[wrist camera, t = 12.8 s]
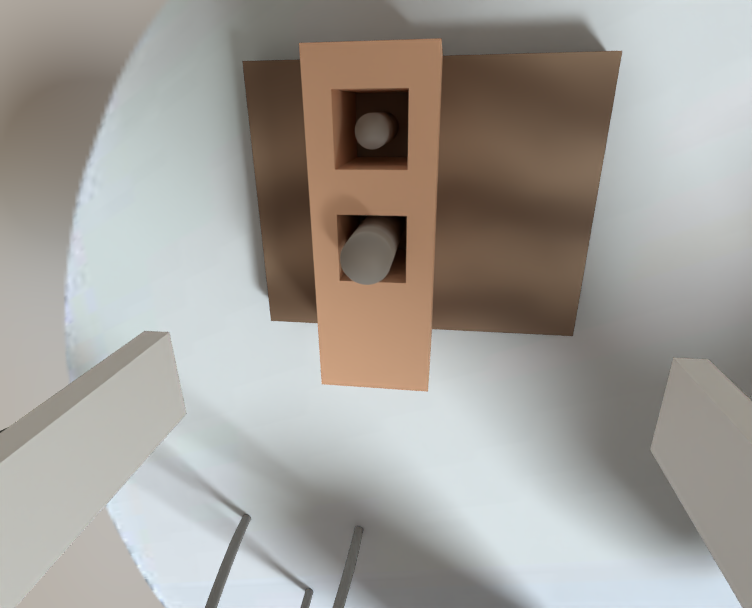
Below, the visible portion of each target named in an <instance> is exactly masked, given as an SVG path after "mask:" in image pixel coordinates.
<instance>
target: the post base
mask: <svg viewBox="0 0 752 608" xmlns="http://www.w3.org/2000/svg"><path fill="white" fill-rule="evenodd" d="M621 56H622V51H596V52H559V53H523V54H486V55H450V56H443V58H442V83H441V109H440V134H439V159H438V184H437V209H436V234H435V259H434V284H433V309H432V329H444V330H463V331H483V332H503V333H522V334H542V335H561V336H573V332H574V326H575V320H576V315H577V309H578V303H579V297H580V292H581V286H582V280H583V274H584V269H585V263H586V257H587V251H588V246H589V240H590V234H591V228H592V223H593V217H594V211H595V205H596V200H597V194H598V188H599V182H600V176H601V171H602V165H603V159H604V153H605V148H606V142H607V136H608V130H609V125H610V119H611V113H612V107H613V102H614V96H615V90H616V84H617V79H618V73H619V67H620V61H621ZM242 62H243V71H244V80H245V89H246V98H247V107H248V116H249V125H250V134H251V143H252V152H253V161H254V170H255V179H256V188H257V197H258V206H259V215H260V224H261V233H262V242H263V251H264V260H265V269H266V279H267V288H268V297H269V306H270V315H271V321H287V322H306V323H318V319H317V304H316V289H315V275H314V260H313V245H312V230H311V215H310V200H309V185H308V170H307V155H306V140H305V125H304V110H303V96H302V81H301V66H300V60H267V61H242ZM408 111H409V92H385V93H356V126H355V136H356V139H357V157H408ZM406 245H407V216H380V215H359V226H358V228H357V229H356V230H355V232H354V233H353V234H352V236H351V237H350V238H349V240H348V241H347V242H346V244H345V245H344V247H343V248H342V251H341V255H340V263H341V267H342V269H343V271H344V273H345V274H346V275H347V276H348V277H349V278H350V279H351V280H353V281H354V282H356V283H359V284H364V285H370V284H375V283H377V282H379V281H381V280H382V279H384V278H385V277H386V275H387V274H388V272H389V270H390V267H391V264H392V262H393V259H394V256H395V253H396V250H397V249H404V250H406Z"/></svg>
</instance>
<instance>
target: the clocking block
mask: <svg viewBox="0 0 752 608" xmlns="http://www.w3.org/2000/svg"><path fill="white" fill-rule="evenodd" d="M299 51H300V66H301V81H302V96H303V110H304V125H305V140H306V155H307V170H308V185H309V200H310V215H311V230H312V245H313V260H314V275H315V289H316V304H317V319H318V334H319V349H320V364H321V379H322V384H328V385H342V386H357V387H371V388H385V389H400V390H414V391H428V382H429V367H430V352H431V334H432V309H433V284H434V259H435V234H436V209H437V184H438V159H439V134H440V109H441V83H442V58H443V52H442V39H441V38H438V39H407V40H376V41H344V42H313V43H299ZM385 92H409V111H408V157H357V139H356V136H355V126H356V93H385ZM359 215H380V216H407V245H406V250H404V249H397V250H396V253H395V256H394V259H393V262H392V264H391V267H390V270H389V272H388V274H387V275H386V277H385V278H384V279H382V280H381V281H379V282H377V283H375V284H370V285H364V284H359V283H356V282H354V281H353V280H351V279H350V278H349V277H348V276H347V275H346V274H345V273H344V271H343V269H342V267H341V263H340V255H341V251H342V248H343V247H344V245H345V244H346V242H347V241H348V240H349V238H350V237H351V236H352V234H353V233H354V232H355V230H356V229H357V228H358V226H359Z"/></svg>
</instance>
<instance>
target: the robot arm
mask: <svg viewBox="0 0 752 608" xmlns="http://www.w3.org/2000/svg"><path fill="white" fill-rule="evenodd" d="M186 414H187V413H186V408H185V404H184V399H183V394H182V390H181V385H180V380H179V376H178V371H177V366H176V361H175V357H174V352H173V347H172V343H171V338H170V333H169V332H155V331H144V332H142V333H141V334H140V335H138V336H137V337H135V338H134V339H132V340H131V341H130V342H128V343H127V344H125V345H124V346H123V347H121V348H120V349H118V350H117V351H115V352H114V353H113V354H111V355H110V356H108V357H107V358H106V359H104V360H103V361H101V362H100V363H99V364H97V365H96V366H94V367H93V368H91V369H90V370H89V371H87V372H86V373H84V374H83V375H82V376H80V377H79V378H77V379H76V380H75V381H73V382H72V383H70V384H69V385H68V386H66V387H65V388H63V389H62V390H60V391H59V392H58V393H56V394H55V395H53V396H52V397H51V398H49V399H48V400H46V401H45V402H44V403H42V404H41V405H39V406H38V407H36V408H35V409H34V410H32V411H31V412H29V413H28V414H27V415H25V416H24V417H22V418H21V419H19V420H18V421H17V422H15V423H14V424H13V425H11V426H10V427H8V428H6V429H3V430H1V431H0V608H15V607H16V606H17V605H18V604H19V603H20V602H21V601H22V600H23V598H24V597H25V596H26V595H27V594H28V593H29V592H30V590H31V589H32V588H33V587H34V586H35V585H36V584H37V583H38V581H39V580H40V579H41V578H42V577H43V576H44V575H45V574H46V572H47V571H48V570H49V569H50V568H51V567H52V565H53V564H54V563H55V562H56V561H57V560H58V559H59V557H60V556H61V555H62V554H63V553H64V552H65V551H66V550H67V549H68V548H69V546H70V545H71V544H72V543H73V542H74V541H75V540H76V538H77V537H78V536H79V535H80V534H81V533H82V532H83V531H84V529H85V528H86V527H87V526H88V525H89V524H90V523H91V521H92V520H93V519H94V518H95V517H96V516H97V515H98V514H99V512H100V511H101V510H102V509H103V508H104V507H105V506H106V504H107V503H108V502H109V501H110V500H111V499H112V498H113V497H114V495H115V494H116V493H117V492H118V491H119V490H120V489H121V488H122V486H123V485H124V484H125V483H126V482H127V481H128V480H129V478H130V477H131V476H132V475H133V474H134V473H135V472H136V471H137V469H138V468H139V467H140V466H141V465H142V464H143V463H144V461H145V460H146V459H147V458H148V457H149V456H150V455H151V454H152V452H153V451H154V450H155V449H156V448H157V447H158V446H159V445H160V443H161V442H162V441H163V440H164V439H165V438H166V437H167V435H168V434H169V433H170V432H171V431H172V430H173V429H174V428H175V426H176V425H177V424H178V423H179V422H180V421H181V420H182V418H183V417H184V416H185V415H186ZM650 451H651V453H652V454H653V456H654V458H655V459H656V461H657V463H658V464H659V466H660V468H661V470H662V471H663V473H664V475H665V476H666V478H667V480H668V481H669V483H670V485H671V487H672V488H673V490H674V492H675V493H676V495H677V497H678V499H679V500H680V502H681V504H682V505H683V507H684V509H685V510H686V512H687V514H688V516H689V517H690V519H691V521H692V522H693V524H694V526H695V528H696V529H697V531H698V533H699V534H700V536H701V538H702V539H703V541H704V543H705V545H706V546H707V548H708V550H709V551H710V553H711V555H712V556H713V558H714V560H715V562H716V563H717V565H718V567H719V568H720V570H721V572H722V574H723V575H724V577H725V579H726V580H727V582H728V584H729V585H730V587H731V589H732V591H733V592H734V594H735V596H736V597H737V599H738V601H739V603H740V604H741V606H742V608H752V401H751V400H750V399H749V398H748V397H747V396H746V395H745V394H744V393H743V392H742V391H741V390H740V389H739V388H738V387H737V386H736V385H735V384H733V383H732V382H731V381H730V380H729V379H728V378H727V377H726V376H725V375H724V374H723V373H722V372H721V371H720V370H719V369H718V368H717V367H716V366H715V365H714V364H713V363H712V362H711V361H710V360H709V359H694V358H674V357H673V361H672V365H671V369H670V373H669V377H668V381H667V385H666V389H665V392H664V396H663V400H662V404H661V408H660V412H659V416H658V420H657V424H656V428H655V432H654V436H653V440H652V444H651V448H650Z"/></svg>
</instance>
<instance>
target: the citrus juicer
mask: <svg viewBox="0 0 752 608" xmlns="http://www.w3.org/2000/svg"><path fill="white" fill-rule="evenodd" d="M250 520H251V517H250V516H249V515H243V517H242V519H241V521H240V523H239V525H238V527H237V529H236V531H235V533H234V535H233V538H232V540H231V542H230V544H229V547H228V549H227V552H226V554H225V556H224V559H223V561H222V564H221V566H220V569H219V572H218V574H217V577H216V579H215V582H214V585H213V587H212V590H211V592H210V595H209V598H208V601H207V603H206V606H205V608H217V606H218V603H219V600H220V597H221V594H222V591H223V588H224V586H225V583H226V580H227V577H228V575H229V572H230V569H231V567H232V564H233V561H234V559H235V556H236V554H237V551H238V548H239V546H240V543H241V541H242V538H243V536H244V534H245V531H246V529H247V527H248V524H249V522H250ZM362 533H363V529H362V528H361V527H359V526H357V527H355V529H354V534H353V538H352V542H351V545H350V549H349V553H348V557H347V560H346V564H345V567H344V571H343V575H342V578H341V582H340V585H339V588H338V592H337V595H336V598H335V602H334V605H333V608H344V605H345V602H346V598H347V594H348V591H349V587H350V584H351V580H352V576H353V573H354V569H355V565H356V561H357V557H358V553H359V548H360V543H361V538H362ZM312 595H313V591H312V590H311V589H306V591H305V594H304V598H303V601H302V605H301V608H309V606H310V602H311V599H312Z"/></svg>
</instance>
